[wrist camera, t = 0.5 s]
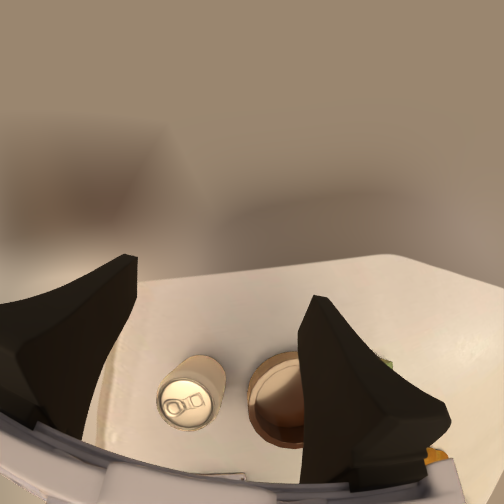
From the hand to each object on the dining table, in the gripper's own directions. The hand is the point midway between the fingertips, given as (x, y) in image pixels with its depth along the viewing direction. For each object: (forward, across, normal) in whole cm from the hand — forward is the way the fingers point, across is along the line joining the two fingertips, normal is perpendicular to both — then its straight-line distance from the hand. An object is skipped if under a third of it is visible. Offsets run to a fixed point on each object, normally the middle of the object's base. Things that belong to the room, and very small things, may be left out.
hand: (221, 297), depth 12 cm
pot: (+14, -12, +24) cm, 31 cm away
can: (+15, 0, +25) cm, 29 cm away
